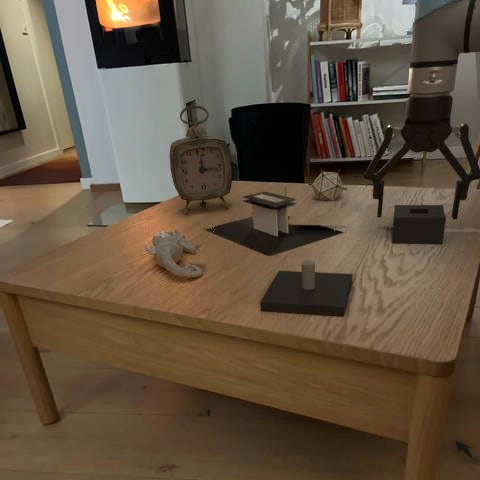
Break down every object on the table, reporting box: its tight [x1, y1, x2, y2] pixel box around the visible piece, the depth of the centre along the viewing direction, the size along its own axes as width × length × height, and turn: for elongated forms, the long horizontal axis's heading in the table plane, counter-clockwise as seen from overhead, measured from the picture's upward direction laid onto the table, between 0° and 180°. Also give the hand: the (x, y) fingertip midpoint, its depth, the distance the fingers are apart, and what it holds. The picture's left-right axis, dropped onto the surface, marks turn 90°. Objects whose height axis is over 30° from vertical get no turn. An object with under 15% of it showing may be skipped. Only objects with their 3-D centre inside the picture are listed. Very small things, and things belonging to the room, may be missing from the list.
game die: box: [307, 169, 348, 201], centre depth 119 cm, size 9×8×10 cm
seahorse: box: [144, 228, 204, 279], centre depth 89 cm, size 5×12×20 cm
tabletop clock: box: [169, 104, 233, 216], centre depth 119 cm, size 14×9×25 cm, turn 104°
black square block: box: [391, 204, 447, 245], centre depth 92 cm, size 9×9×5 cm
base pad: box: [259, 259, 353, 317], centre depth 72 cm, size 12×12×6 cm
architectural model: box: [203, 186, 345, 257], centre depth 101 cm, size 20×25×10 cm
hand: (416, 216), depth 92 cm, fingers open, 13 cm apart
